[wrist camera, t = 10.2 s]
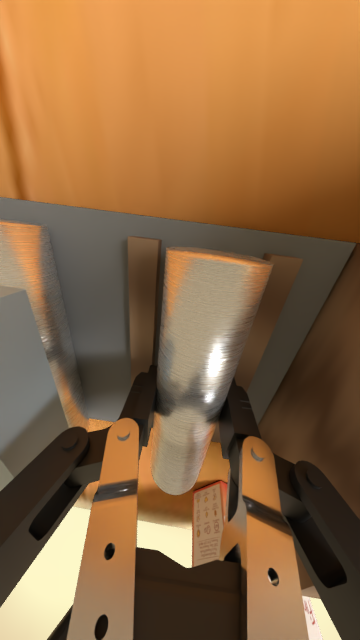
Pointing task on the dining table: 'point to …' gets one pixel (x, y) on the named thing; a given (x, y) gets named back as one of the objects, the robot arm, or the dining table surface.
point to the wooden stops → (299, 381)
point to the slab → (24, 388)
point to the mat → (113, 290)
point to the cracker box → (209, 532)
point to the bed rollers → (44, 306)
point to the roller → (199, 353)
